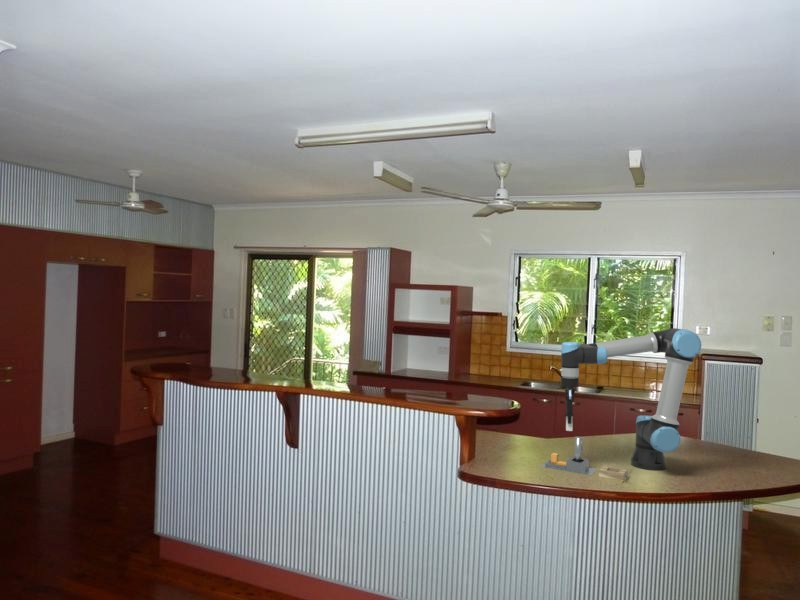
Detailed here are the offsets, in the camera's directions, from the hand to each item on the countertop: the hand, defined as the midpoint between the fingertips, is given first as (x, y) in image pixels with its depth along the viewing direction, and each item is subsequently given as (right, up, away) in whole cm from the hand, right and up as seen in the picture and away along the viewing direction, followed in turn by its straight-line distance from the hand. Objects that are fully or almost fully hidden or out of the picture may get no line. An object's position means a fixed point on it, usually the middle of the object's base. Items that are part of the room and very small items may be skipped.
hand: (569, 430), depth 272 cm
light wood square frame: (+16, -18, -10) cm, 26 cm away
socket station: (0, -18, -1) cm, 18 cm away
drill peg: (+3, -17, -2) cm, 17 cm away
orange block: (-3, -16, +1) cm, 17 cm away
